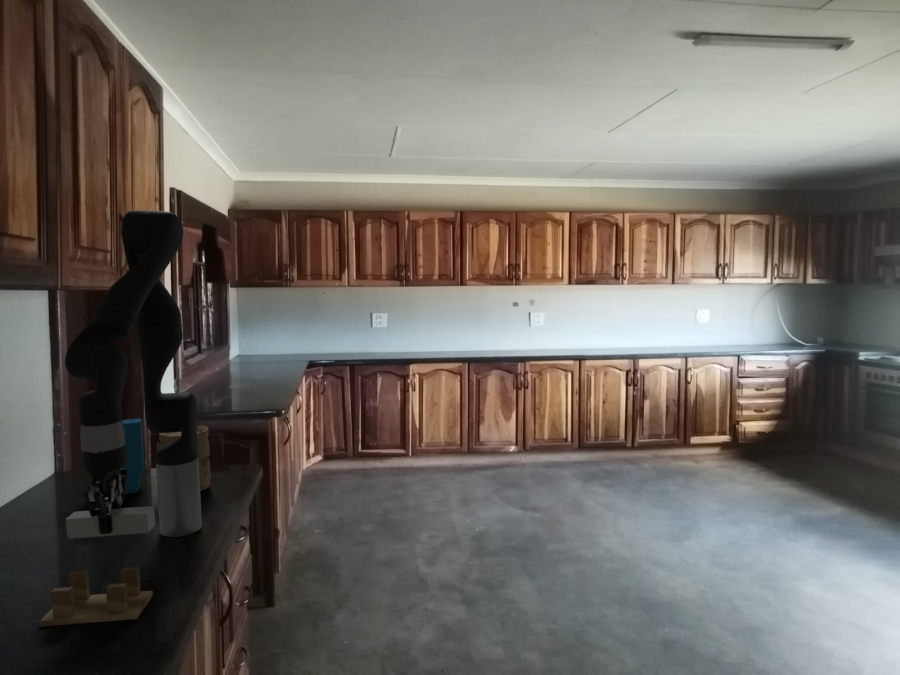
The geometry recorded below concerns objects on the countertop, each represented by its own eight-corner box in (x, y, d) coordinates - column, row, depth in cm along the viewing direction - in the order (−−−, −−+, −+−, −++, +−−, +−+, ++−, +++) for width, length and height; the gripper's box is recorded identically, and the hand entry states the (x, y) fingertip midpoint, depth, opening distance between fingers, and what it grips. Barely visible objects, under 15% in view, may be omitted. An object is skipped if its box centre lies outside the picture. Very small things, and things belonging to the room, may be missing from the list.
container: (161, 489, 173) (157, 428, 172) (208, 482, 179) (205, 422, 177) (164, 504, 162) (160, 438, 161) (214, 495, 168) (210, 432, 166)
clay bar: (76, 530, 121) (74, 511, 121) (155, 524, 123) (153, 506, 122) (67, 538, 118) (65, 519, 117) (148, 532, 119) (146, 513, 119)
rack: (63, 602, 114) (60, 571, 113) (152, 595, 116) (151, 565, 115) (40, 626, 106) (37, 593, 105) (137, 618, 108) (134, 586, 107)
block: (145, 485, 177) (141, 418, 175) (144, 491, 173) (140, 422, 170) (98, 491, 172) (93, 422, 170) (96, 497, 168) (91, 426, 166)
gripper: (100, 434, 124) (106, 514, 127) (64, 456, 110) (72, 546, 113) (138, 433, 125) (144, 512, 127) (107, 455, 111) (115, 544, 113)
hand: (110, 528), depth 120 cm, fingers closed on clay bar, 3 cm apart
